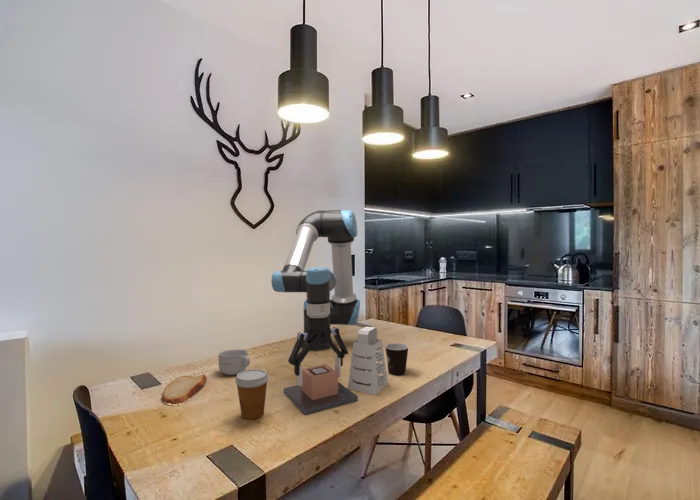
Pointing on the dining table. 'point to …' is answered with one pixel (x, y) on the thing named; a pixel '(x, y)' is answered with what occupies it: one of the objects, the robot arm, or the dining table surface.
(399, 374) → the coffee mug
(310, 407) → the post stand
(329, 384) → the hollow square tube
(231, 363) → the teacup
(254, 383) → the disposable coffee cup
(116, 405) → the dining table surface
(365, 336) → the grater
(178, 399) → the slice of bread
